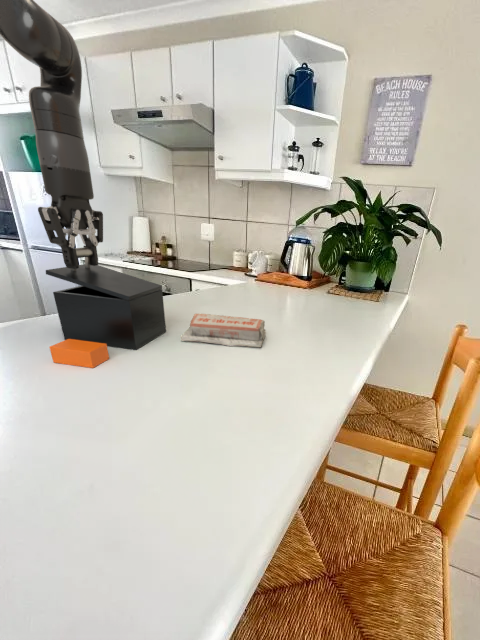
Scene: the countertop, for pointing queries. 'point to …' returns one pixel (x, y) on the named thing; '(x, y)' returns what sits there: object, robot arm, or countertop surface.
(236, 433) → the countertop surface
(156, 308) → the bin
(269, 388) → the countertop surface
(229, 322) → the packaged product
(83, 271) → the bin lid
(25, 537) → the countertop surface
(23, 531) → the countertop surface
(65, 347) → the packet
